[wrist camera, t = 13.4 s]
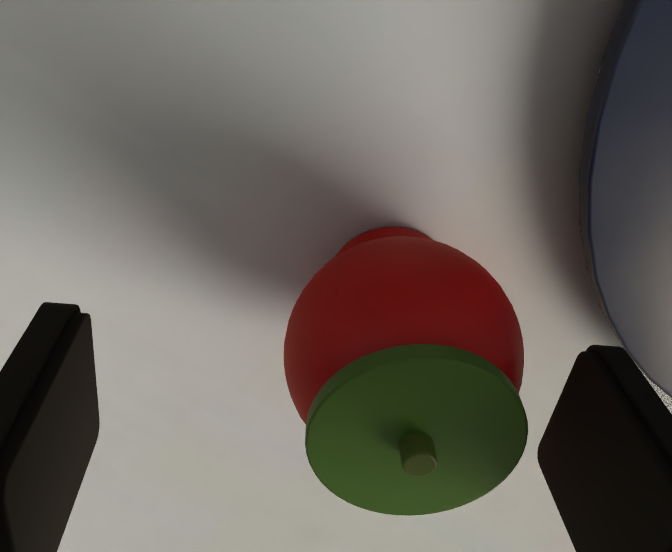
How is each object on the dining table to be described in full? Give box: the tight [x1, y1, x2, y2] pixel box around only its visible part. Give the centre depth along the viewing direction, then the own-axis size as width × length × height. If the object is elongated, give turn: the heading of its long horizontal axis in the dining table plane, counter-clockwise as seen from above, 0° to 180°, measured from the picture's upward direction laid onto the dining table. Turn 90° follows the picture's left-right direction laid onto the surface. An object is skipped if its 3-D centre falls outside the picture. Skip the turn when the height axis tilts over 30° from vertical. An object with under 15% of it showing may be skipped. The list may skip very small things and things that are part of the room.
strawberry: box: [284, 227, 528, 515], centre depth 13 cm, size 5×5×6 cm
